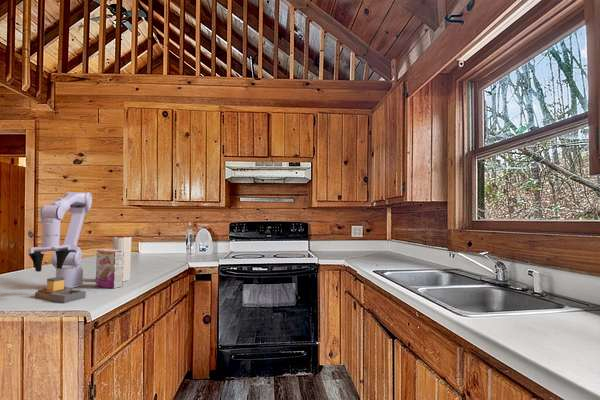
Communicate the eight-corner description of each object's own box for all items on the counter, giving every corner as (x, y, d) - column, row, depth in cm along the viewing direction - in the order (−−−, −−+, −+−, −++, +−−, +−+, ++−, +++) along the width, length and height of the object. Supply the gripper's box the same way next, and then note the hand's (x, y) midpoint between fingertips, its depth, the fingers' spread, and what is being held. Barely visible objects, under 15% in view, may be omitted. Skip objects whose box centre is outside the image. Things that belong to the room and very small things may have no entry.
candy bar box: (94, 286, 145) (96, 249, 146) (104, 284, 150) (106, 248, 150) (113, 289, 141) (115, 251, 142) (123, 286, 146) (124, 250, 147)
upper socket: (59, 292, 134) (59, 285, 134) (74, 294, 131) (74, 287, 131) (34, 297, 126) (35, 290, 126) (50, 300, 123) (50, 292, 123)
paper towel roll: (109, 283, 153) (111, 237, 154) (113, 280, 159) (115, 236, 159) (126, 282, 154) (128, 237, 155) (129, 279, 160) (131, 236, 161)
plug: (57, 289, 131) (57, 276, 131) (63, 290, 130) (64, 277, 130) (46, 291, 127) (47, 278, 127) (53, 292, 126) (53, 279, 126)
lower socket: (71, 295, 129) (71, 289, 129) (85, 297, 127) (85, 291, 127) (49, 300, 122) (50, 293, 122) (64, 303, 119) (64, 295, 119)
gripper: (36, 236, 120) (34, 273, 120) (76, 234, 134) (74, 267, 133) (25, 235, 123) (23, 272, 122) (64, 234, 136) (63, 266, 136)
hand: (49, 269), depth 128 cm, fingers open, 7 cm apart
